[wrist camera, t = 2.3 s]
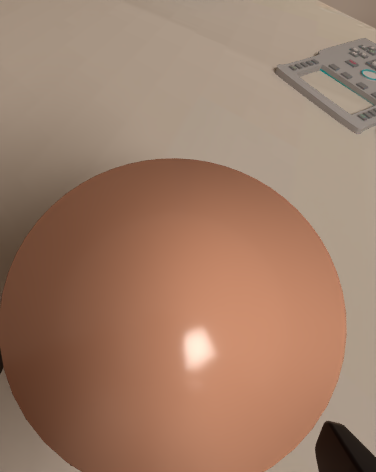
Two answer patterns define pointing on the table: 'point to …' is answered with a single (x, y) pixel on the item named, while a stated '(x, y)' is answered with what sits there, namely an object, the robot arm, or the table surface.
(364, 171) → the table surface
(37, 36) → the table surface
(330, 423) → the robot arm
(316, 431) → the table surface
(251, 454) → the faceted domed cylinder
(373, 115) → the office telephone
